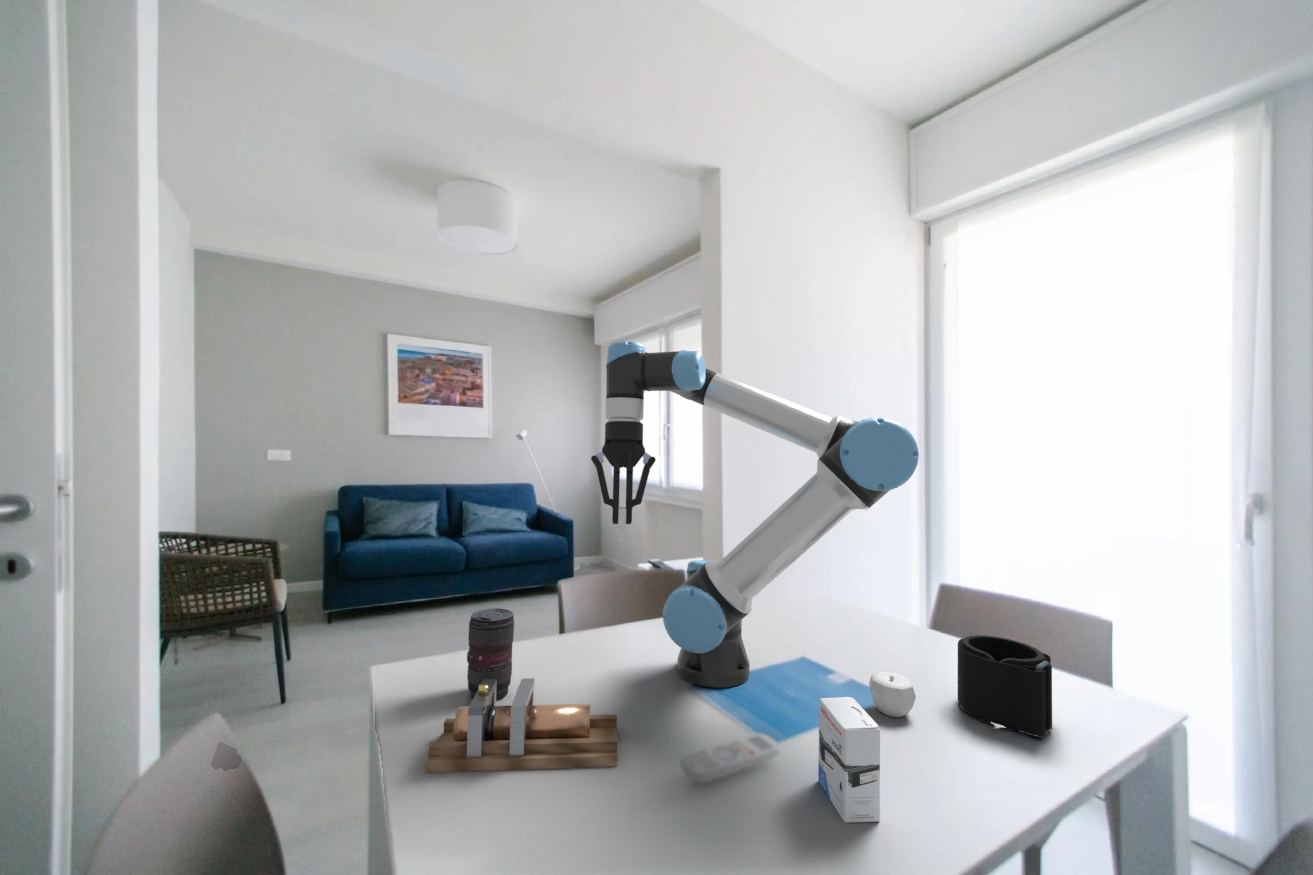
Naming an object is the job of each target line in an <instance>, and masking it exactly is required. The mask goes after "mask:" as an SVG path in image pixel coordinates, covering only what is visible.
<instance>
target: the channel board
mask: <svg viewBox="0 0 1313 875" xmlns="http://www.w3.org/2000/svg"><path fill="white" fill-rule="evenodd" d="M454 721H455V717H454V718H446V719H445V721H444V722H443V732H442V734H441V735H440V737H439V739H438V740H437V741H434V742H431V743H430V744H429V746H428V755H427V759H426V760H425V763H424V764H425V766H424V767H425V771H424V772H425V773H427V774H428V773H451V772H454V773H455V772H456V773H457V772H478V771H479V772H481V771H482V772H484V771H513V770H541V769H542V770H543V769H567V768H568V769H569V768H570V769H573V768H577V769H578V768H597V767H598V768H601V767H604V768H605V767H618V714H590V734H589V737H582V738H549V739H526V741H525V749H524V757H510V740H484V743H483V745H482V757H481V758H467V741H454V739H453V727H454Z"/></svg>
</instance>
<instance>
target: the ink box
mask: <svg viewBox="0 0 1313 875" xmlns="http://www.w3.org/2000/svg"><path fill="white" fill-rule="evenodd" d="M818 702H819V703H818V766H817V768H818V774H817V776H818V778H817V779H818V783H819V784H820V786H821V787H822V789H823V790H824V792H825V794H826V795H827V796H828V798H829V801H831V803H832V805H833V806H834V808H835V809H836V812H837V813H838V814H839V816H840V817H841V820H842V821H843V823H847V824H848V823H876V822H877V823H878V822H881V821H880V820H881V812H880V811H881V810H880V809H881V808H880V807H881V804H880V803H881V798H880V797H881V794H880V793H881V791H880V790H881V788H880V786H881V785H880V784H881V782H880V780H881V779H880V778H881V777H880V775H881V772H880V771H881V769H880V767H881V765H880V764H881V729H880V728H879V724H878V723H877V722H876V721H875V720H874V719H873V717H871V715H869V714H868V713H867V711H866V710H865V709H864V708H863V707H862V706H861V705H860V704H859V702H857V701H856V700H855V698H853V697H850V696H842V697H819V699H818Z"/></svg>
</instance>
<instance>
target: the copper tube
mask: <svg viewBox="0 0 1313 875" xmlns="http://www.w3.org/2000/svg"><path fill="white" fill-rule="evenodd" d="M511 705H512V704H510V705H496V706H487V707H486V709H485V720H484V740H510V724H511ZM468 707H469V706H459V707H458V708H457V710H456V714H455V716H454V718H455V721H454V727H453V739H454V741H467V733H468ZM590 715H591V703H566V704H565V703H563V704H562V703H559V704H557V703H556V704H555V703H554V704H534V705H528V706H527V709H526V739H549V738H582V737H589V734H590Z"/></svg>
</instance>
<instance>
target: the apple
mask: <svg viewBox="0 0 1313 875" xmlns="http://www.w3.org/2000/svg"><path fill="white" fill-rule="evenodd" d="M868 684H869V691H870V695H871V698H872V701H873V703H874V705H875V706H876V709H878V711H879V712H880V713H883V714H884V715H886V716H889V717H893V718H900V717H905V716H907V715H908V714H909V713H910V712H911V710H912V709H913V708H914V705H915V701H916V697H917V696H916V693H915V690H914V687H913V683H912V680H911V679H910V678H908V677H906V676H904V675H902V674H900V673H897V672H889V671H880V672H874V673H872V674H871V677H870V679H869V681H868Z"/></svg>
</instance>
